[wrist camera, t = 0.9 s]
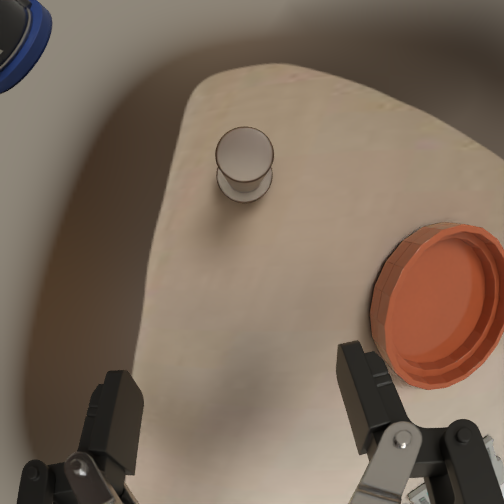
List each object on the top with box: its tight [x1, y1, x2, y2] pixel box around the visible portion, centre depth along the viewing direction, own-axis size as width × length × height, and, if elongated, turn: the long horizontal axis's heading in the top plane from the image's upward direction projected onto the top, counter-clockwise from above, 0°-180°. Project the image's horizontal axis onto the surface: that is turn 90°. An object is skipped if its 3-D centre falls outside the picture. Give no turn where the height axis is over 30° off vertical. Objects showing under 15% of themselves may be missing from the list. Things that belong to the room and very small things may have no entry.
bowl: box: [370, 222, 504, 390], centre depth 26 cm, size 15×15×4 cm
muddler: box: [215, 127, 274, 203], centre depth 20 cm, size 4×4×12 cm
